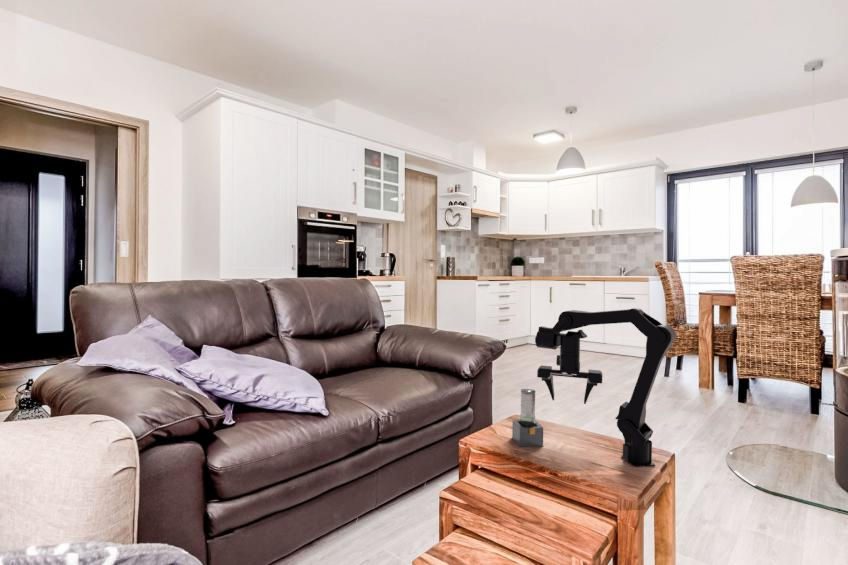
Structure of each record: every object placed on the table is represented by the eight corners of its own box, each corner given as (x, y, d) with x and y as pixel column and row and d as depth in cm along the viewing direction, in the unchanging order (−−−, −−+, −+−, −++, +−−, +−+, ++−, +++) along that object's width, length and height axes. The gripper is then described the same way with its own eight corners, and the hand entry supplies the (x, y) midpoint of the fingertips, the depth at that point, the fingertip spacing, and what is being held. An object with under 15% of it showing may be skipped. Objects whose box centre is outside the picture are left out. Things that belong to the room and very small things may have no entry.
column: (532, 426, 136) (532, 388, 136) (537, 432, 132) (537, 392, 131) (518, 427, 136) (518, 388, 135) (522, 432, 131) (523, 392, 131)
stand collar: (535, 439, 138) (535, 419, 138) (544, 450, 130) (544, 428, 130) (511, 440, 137) (511, 419, 137) (519, 451, 129) (520, 429, 129)
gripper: (602, 349, 138) (601, 398, 139) (541, 345, 145) (540, 392, 146) (602, 355, 128) (601, 408, 128) (537, 350, 135) (536, 401, 135)
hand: (568, 401), depth 135 cm, fingers open, 9 cm apart
